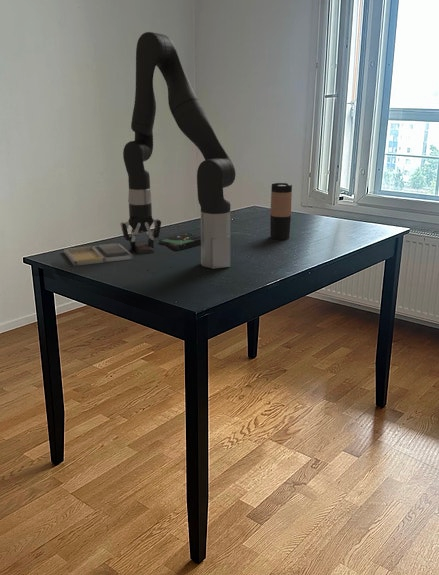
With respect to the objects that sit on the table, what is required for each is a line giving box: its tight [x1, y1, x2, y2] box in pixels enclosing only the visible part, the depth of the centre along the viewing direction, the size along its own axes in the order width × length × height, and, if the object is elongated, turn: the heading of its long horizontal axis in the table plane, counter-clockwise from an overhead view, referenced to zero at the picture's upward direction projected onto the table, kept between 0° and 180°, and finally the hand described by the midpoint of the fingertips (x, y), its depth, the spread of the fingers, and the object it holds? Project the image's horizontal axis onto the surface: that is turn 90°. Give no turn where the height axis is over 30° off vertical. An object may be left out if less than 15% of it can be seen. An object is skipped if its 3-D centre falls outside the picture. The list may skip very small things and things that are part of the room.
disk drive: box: [158, 232, 201, 252], centre depth 210 cm, size 10×3×15 cm
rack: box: [63, 242, 134, 267], centre depth 191 cm, size 17×19×2 cm
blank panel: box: [97, 242, 125, 258], centre depth 193 cm, size 12×6×2 cm, turn 25°
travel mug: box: [269, 182, 293, 241], centre depth 217 cm, size 8×8×20 cm
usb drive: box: [135, 240, 155, 255], centre depth 200 cm, size 5×12×3 cm, turn 22°
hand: (142, 250), depth 200 cm, fingers closed on usb drive, 5 cm apart
